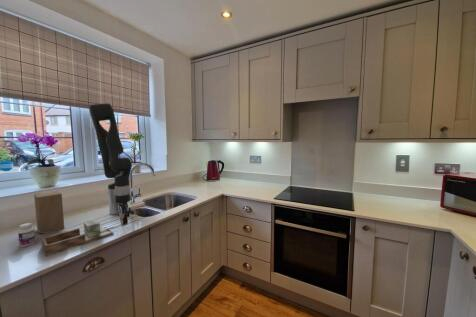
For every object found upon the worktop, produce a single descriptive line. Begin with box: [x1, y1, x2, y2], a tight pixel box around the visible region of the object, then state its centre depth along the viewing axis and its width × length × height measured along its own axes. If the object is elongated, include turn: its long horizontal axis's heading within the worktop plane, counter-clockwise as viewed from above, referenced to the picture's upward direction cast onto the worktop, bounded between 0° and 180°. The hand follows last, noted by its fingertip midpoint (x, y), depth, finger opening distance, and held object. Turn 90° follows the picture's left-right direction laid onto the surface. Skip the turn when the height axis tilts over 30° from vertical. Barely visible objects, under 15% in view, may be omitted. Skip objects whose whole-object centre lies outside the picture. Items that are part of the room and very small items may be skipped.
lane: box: [40, 226, 114, 257], centre depth 100 cm, size 26×11×4 cm, turn 140°
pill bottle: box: [18, 222, 37, 248], centre depth 96 cm, size 5×5×10 cm
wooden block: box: [33, 190, 65, 235], centre depth 112 cm, size 10×10×20 cm
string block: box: [83, 213, 128, 238], centre depth 109 cm, size 19×7×7 cm, turn 140°
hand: (124, 222), depth 115 cm, fingers closed on string block, 3 cm apart
